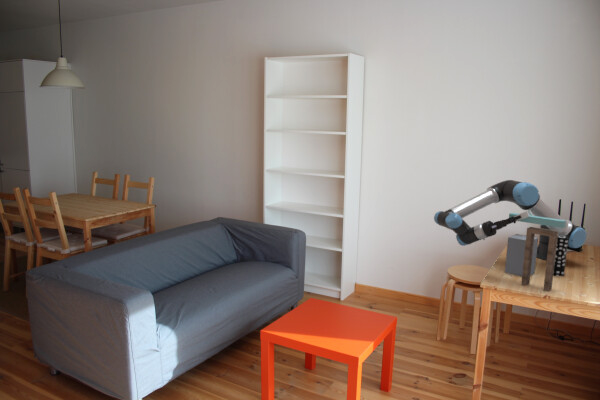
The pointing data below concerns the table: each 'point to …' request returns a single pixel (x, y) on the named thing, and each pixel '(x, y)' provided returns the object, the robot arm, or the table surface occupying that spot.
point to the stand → (550, 256)
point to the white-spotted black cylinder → (560, 255)
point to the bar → (542, 220)
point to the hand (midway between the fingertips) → (529, 213)
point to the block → (518, 254)
